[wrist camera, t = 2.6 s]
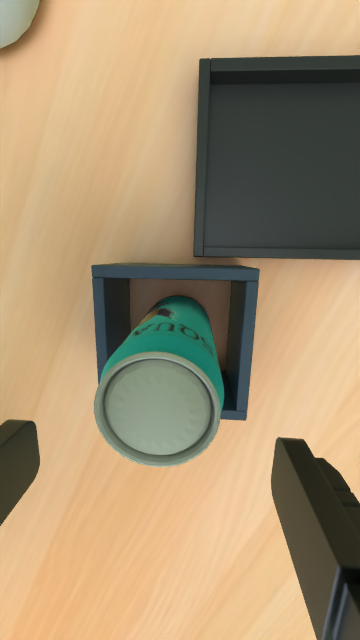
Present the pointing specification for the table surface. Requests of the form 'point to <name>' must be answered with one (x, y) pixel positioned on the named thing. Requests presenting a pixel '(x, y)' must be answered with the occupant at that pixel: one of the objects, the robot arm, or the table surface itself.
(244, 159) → the tray
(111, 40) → the table surface
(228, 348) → the caddy
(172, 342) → the beverage can
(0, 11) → the donut
